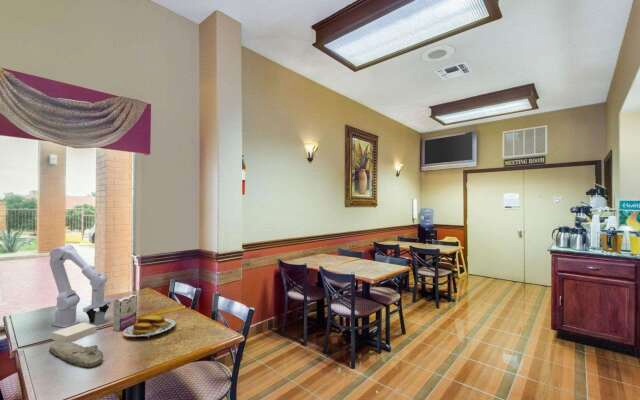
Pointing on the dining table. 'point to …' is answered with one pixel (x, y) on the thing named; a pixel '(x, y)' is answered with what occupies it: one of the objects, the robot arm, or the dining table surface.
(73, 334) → the cream box
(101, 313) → the slate block
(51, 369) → the dining table surface
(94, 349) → the long grey stone
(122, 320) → the candy bar box
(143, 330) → the food on plate
